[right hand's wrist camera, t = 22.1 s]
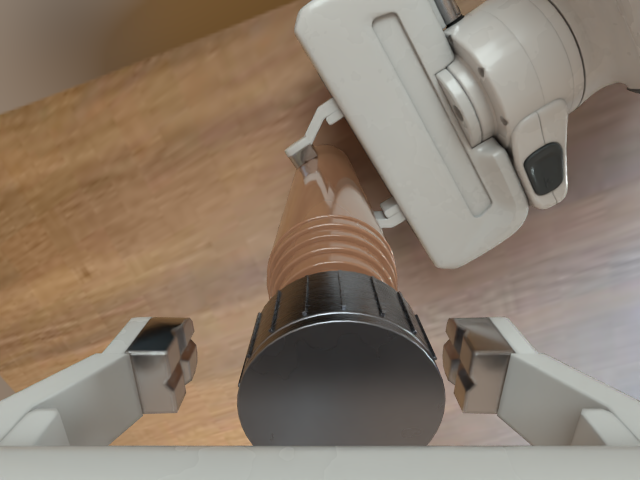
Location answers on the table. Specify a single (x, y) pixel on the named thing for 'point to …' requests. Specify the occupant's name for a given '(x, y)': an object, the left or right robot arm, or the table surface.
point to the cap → (339, 367)
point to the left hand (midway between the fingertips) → (315, 195)
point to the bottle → (328, 226)
